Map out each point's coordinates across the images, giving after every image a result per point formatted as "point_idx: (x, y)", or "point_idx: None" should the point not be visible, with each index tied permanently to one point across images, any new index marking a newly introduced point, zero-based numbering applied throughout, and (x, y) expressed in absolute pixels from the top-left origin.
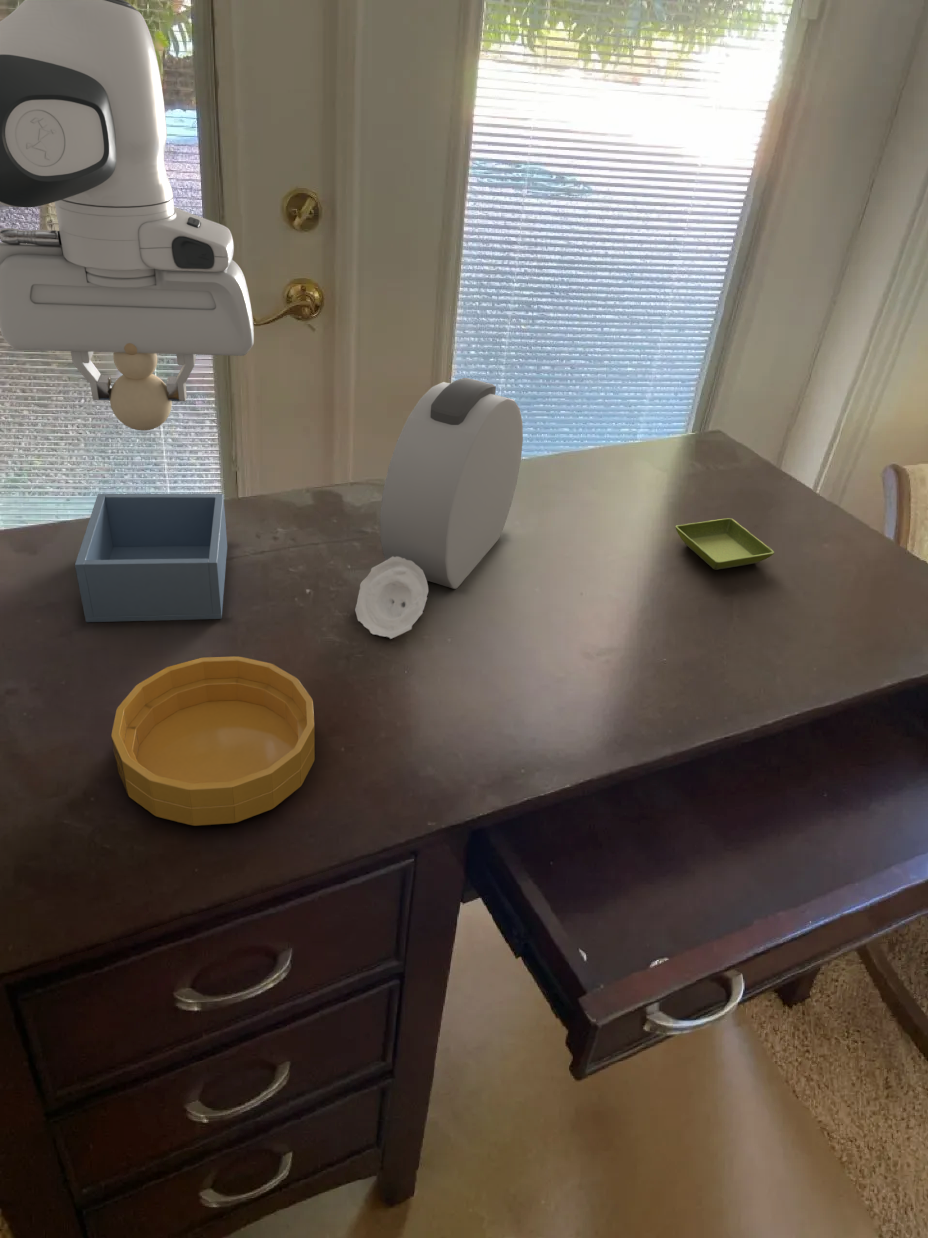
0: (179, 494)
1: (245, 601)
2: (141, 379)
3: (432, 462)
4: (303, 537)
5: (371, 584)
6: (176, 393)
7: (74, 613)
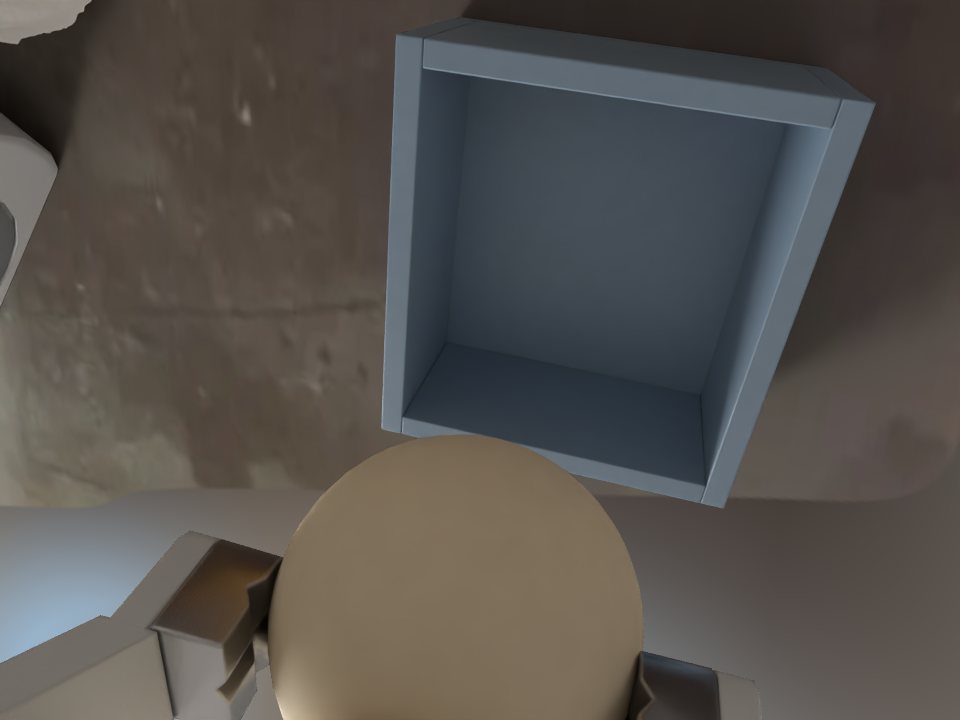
0: None
1: None
2: (371, 718)
3: None
4: (264, 345)
5: (40, 10)
6: (201, 573)
7: None
